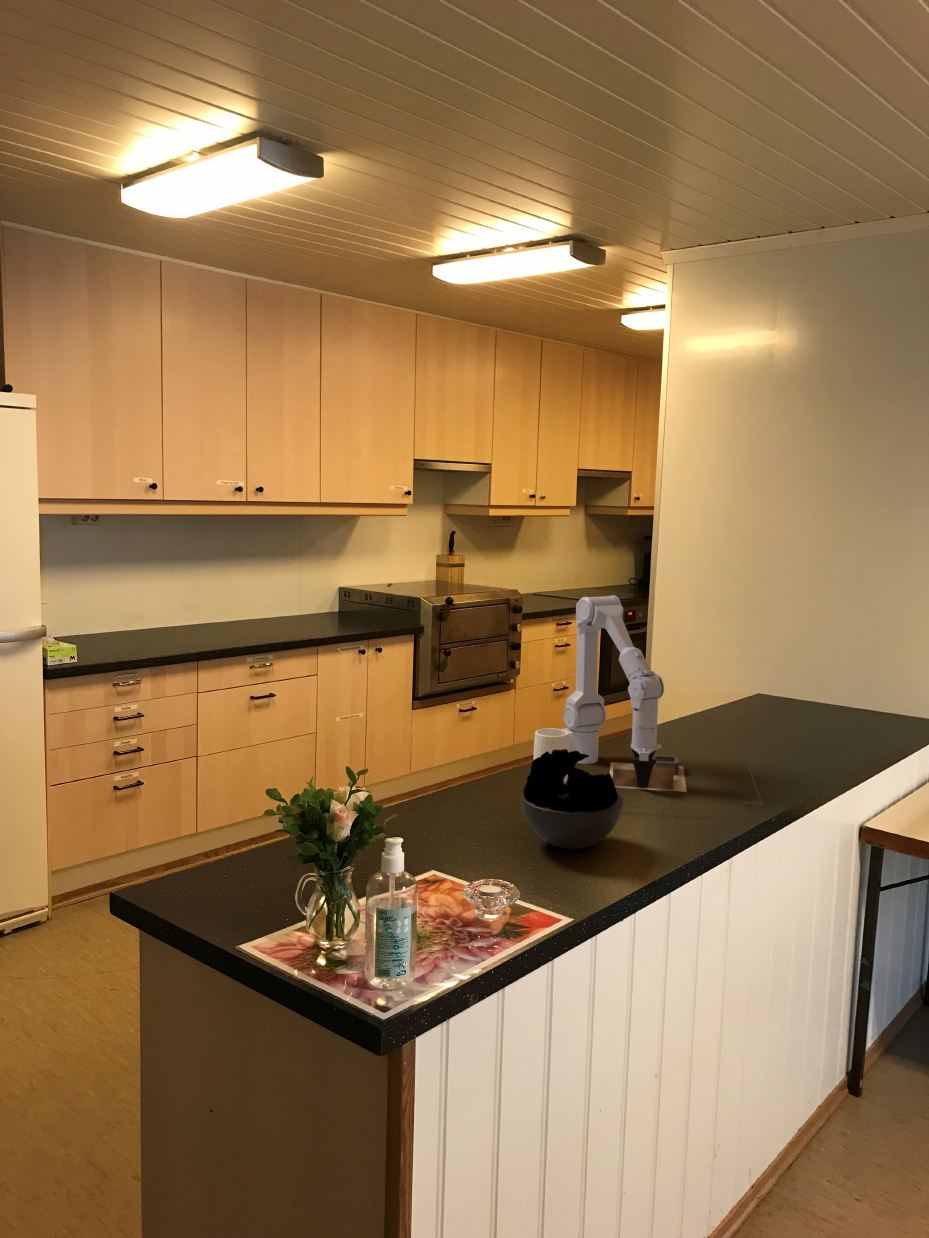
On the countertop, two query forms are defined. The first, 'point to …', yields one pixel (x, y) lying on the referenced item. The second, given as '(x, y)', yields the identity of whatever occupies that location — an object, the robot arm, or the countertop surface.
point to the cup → (551, 742)
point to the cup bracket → (668, 763)
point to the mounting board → (677, 786)
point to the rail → (657, 779)
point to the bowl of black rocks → (569, 801)
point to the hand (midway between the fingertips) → (642, 782)
